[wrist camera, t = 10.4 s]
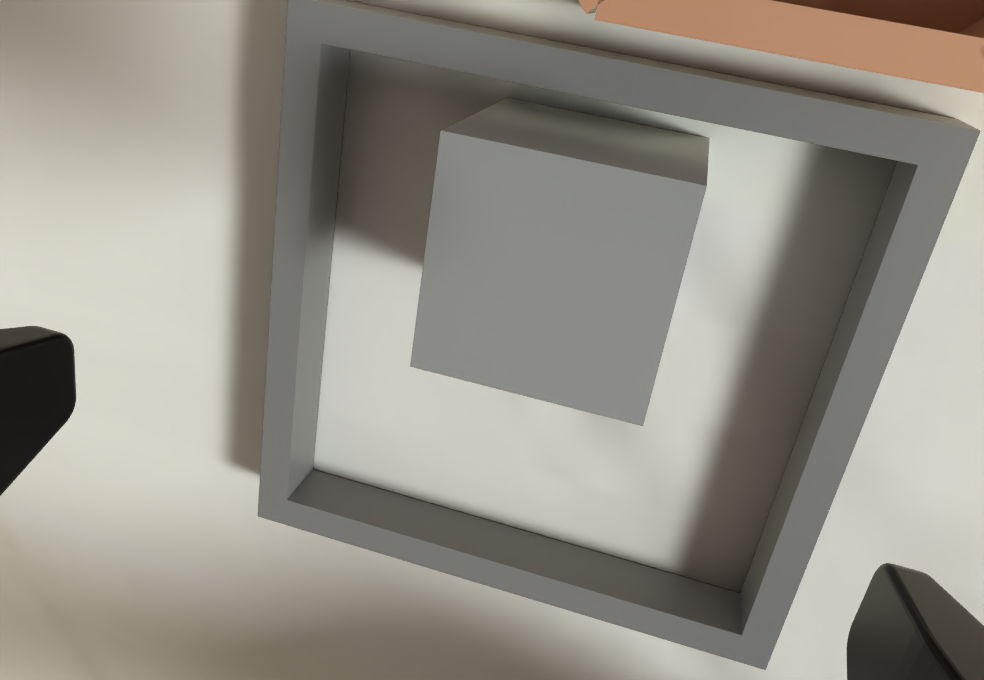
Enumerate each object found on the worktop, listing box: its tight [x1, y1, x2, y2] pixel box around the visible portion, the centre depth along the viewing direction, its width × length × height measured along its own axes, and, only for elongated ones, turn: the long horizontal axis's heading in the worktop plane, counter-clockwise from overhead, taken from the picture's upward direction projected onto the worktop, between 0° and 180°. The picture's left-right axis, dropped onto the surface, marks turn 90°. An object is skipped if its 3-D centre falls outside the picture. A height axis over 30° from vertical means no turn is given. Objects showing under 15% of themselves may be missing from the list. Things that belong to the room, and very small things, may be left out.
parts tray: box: [258, 0, 980, 670], centre depth 20 cm, size 13×14×2 cm
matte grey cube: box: [410, 98, 709, 426], centre depth 17 cm, size 4×4×5 cm
